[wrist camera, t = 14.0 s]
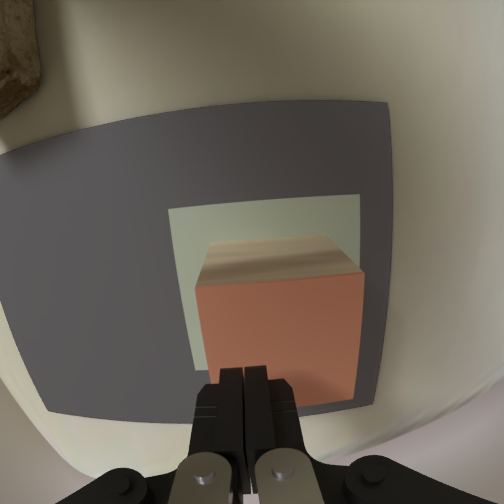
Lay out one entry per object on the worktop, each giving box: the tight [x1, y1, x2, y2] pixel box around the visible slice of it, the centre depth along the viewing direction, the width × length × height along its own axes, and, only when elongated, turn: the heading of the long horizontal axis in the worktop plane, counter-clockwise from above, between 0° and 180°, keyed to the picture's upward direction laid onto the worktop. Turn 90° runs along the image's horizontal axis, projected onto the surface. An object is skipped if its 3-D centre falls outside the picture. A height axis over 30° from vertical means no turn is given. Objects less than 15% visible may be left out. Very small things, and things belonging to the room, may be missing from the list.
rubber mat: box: [0, 100, 393, 424], centre depth 18 cm, size 20×26×1 cm
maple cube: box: [195, 234, 365, 407], centre depth 15 cm, size 6×6×6 cm
